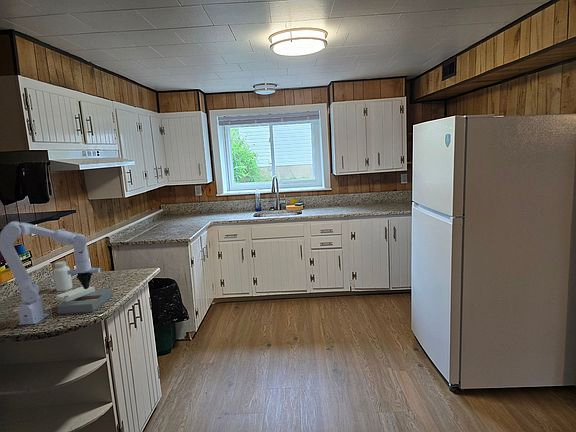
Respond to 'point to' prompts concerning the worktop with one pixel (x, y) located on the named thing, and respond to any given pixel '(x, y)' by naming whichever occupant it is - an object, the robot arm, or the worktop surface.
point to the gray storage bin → (86, 302)
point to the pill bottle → (62, 277)
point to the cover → (74, 294)
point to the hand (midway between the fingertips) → (86, 288)
